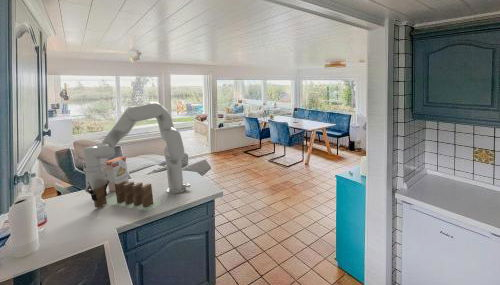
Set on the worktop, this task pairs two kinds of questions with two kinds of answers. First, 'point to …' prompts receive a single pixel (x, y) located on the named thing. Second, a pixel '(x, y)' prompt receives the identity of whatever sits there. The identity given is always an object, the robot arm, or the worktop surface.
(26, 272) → the worktop surface
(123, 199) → the domino
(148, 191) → the domino
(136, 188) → the domino
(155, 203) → the mat
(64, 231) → the worktop surface
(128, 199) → the domino
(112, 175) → the cracker box
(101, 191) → the domino
